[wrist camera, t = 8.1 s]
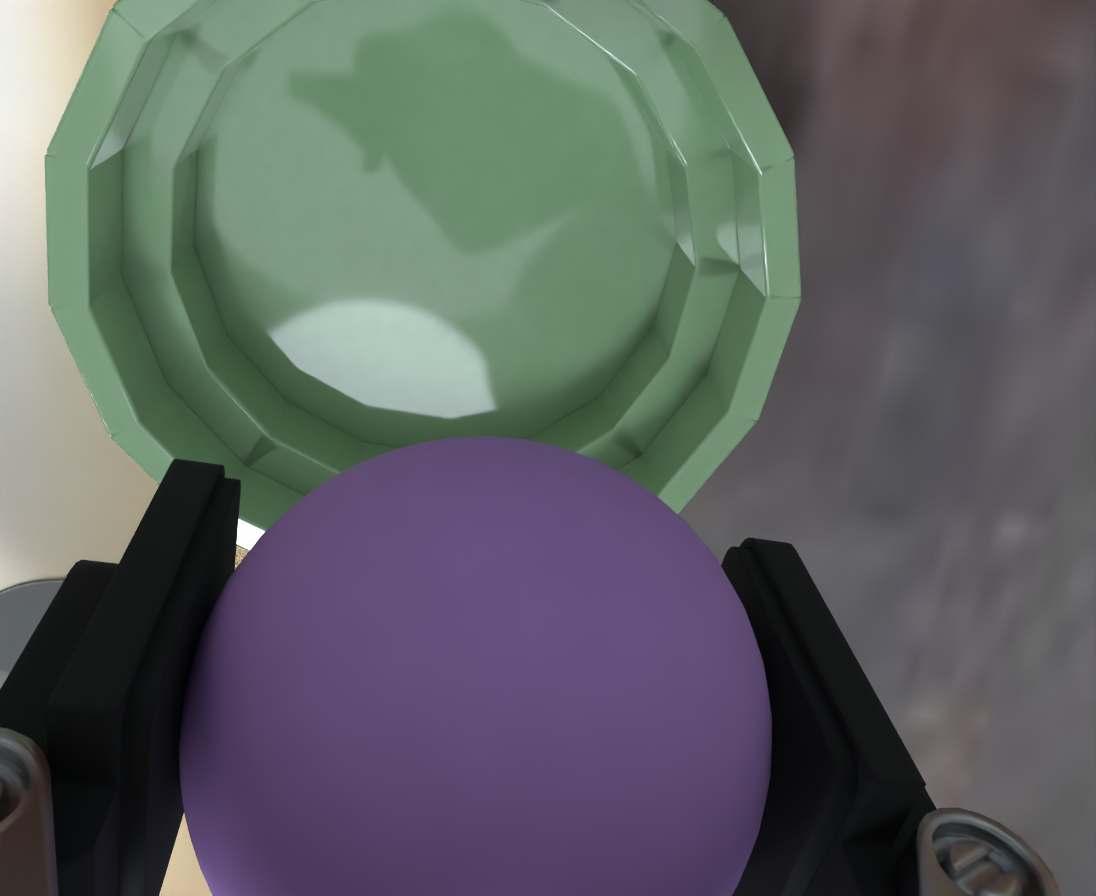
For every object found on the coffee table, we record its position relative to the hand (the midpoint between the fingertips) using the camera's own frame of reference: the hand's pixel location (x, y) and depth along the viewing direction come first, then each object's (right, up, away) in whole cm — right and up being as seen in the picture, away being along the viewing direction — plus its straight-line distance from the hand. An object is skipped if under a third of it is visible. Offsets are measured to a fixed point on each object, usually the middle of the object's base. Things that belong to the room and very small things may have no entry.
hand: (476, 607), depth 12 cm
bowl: (-2, +7, +13) cm, 15 cm away
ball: (0, +1, +1) cm, 1 cm away
